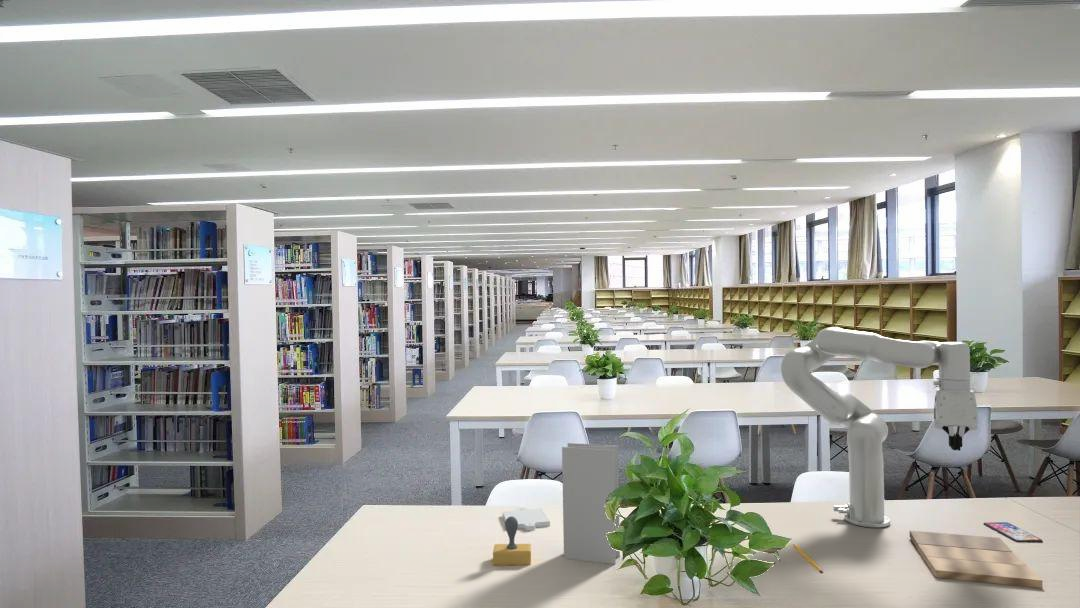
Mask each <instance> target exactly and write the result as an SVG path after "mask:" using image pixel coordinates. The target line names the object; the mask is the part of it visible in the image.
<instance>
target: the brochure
mask: <svg viewBox="0 0 1080 608" xmlns="http://www.w3.org/2000/svg"><path fill="white" fill-rule="evenodd" d="M561 463H562V465H561V468H562V470H561V471H562V517H563V518H562V522H563V523H562V526H563V559H566V560H575V561H583V562H593V563H600V564H608V565H616V562H617V561H616V560H617V559H616V558H620V557H621V551H620V552H619V551H616V550H614V549H612V548H611V546H610V545H609V542H608V540H607V537H606V533H608V532H613V531H615V530H616V529H617V528H618V526H619V527H620V515H619V516H616V519H615V524H616V526H615V525H614V524H613V522H612V521H611V520H609V519H608V518H607V516H606V514H605V507H604V504H605V502H606V499H607V497H608V495H609V494H610V493H612V492H613V491H614V490H615V489H616V488H618V487H619V479H620V478H619V477H620V476H619V446H618V445H610V444H594V443H592V444H591V443H590V444H589V443H575V442H568V443H567V446H562V447H561Z"/></svg>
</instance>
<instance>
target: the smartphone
mask: <svg viewBox="0 0 1080 608" xmlns="http://www.w3.org/2000/svg"><path fill="white" fill-rule="evenodd" d="M983 525H984V526H986V527H987V528H989V529H991V530H993V531H994V532H996V531H997V533H998V534H1001V536H1004V537H1006V538H1007V539H1009V540H1011V541H1013V542H1015V543H1044V542H1043V539H1041V538H1039V537H1037V536H1036V535H1034V534H1031V533H1029V532H1028V531H1026V530H1023V529H1021V528H1020V527H1018V526H1016V525H1013V524H1012V523H1011V522H1006V521H1005V522H1003V521H1002V522H1001V521H1000V522H999V521H998V522H983Z"/></svg>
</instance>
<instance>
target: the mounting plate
mask: <svg viewBox="0 0 1080 608" xmlns="http://www.w3.org/2000/svg"><path fill="white" fill-rule="evenodd" d="M501 515H502V518H503V521H504V522H506V520H507V518H508V517H511V516H512V517H515V518H516V519H517V521H518V529H517V530H520V529H521V530H525V531H527V532H533V531H536V528H546V527H551V521H550V519H549V518H548V516H547V514H546V513H545V511H544V510H543V509H542V508H541V507H540V508H532V509H531V508H530V509H528V508H526V507H516V510H505V511H502V514H501Z"/></svg>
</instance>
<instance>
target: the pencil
mask: <svg viewBox="0 0 1080 608" xmlns="http://www.w3.org/2000/svg"><path fill="white" fill-rule="evenodd" d="M792 545H793V547H794V549H796V550H797V551H798V552H799V553H800V554H801V555H802V556H803V557H804V558H805V560H806V561H808V562H809V563H810V564H811V565H812V566H813V567H814V568H815V569H816V570H817V571H818V572H819V573H821V574H823V573H824V571H823V570H822V569H821V568H820V567H819V565H817V564H816V563H815V562H814V561H813V560H812V559H811V558H810V557H809V556H808V555H807V554H806V553H804V551H803V550H801V548H800V547H799V546H798V545H797V544H792Z"/></svg>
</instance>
